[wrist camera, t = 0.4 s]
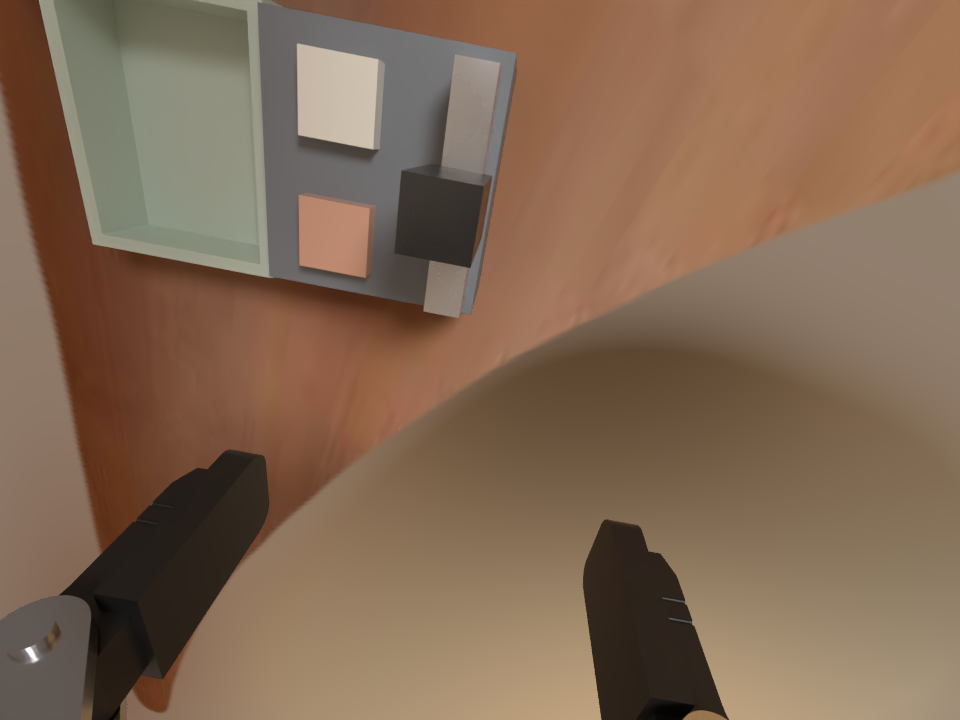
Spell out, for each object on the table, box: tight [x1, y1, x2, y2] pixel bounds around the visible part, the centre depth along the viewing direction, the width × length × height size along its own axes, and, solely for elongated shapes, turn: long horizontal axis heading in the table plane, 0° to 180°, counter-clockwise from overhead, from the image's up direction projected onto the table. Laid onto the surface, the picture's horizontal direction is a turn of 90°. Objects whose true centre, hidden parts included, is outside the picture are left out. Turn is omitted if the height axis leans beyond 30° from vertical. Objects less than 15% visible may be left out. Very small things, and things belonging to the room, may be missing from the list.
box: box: [39, 0, 282, 279], centre depth 28 cm, size 15×12×5 cm
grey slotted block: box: [257, 2, 517, 315], centre depth 27 cm, size 14×13×6 cm
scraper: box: [394, 54, 503, 318], centre depth 21 cm, size 12×3×10 cm, turn 170°
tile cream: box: [297, 43, 385, 150], centre depth 23 cm, size 4×4×1 cm
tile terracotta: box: [299, 193, 376, 278], centre depth 26 cm, size 4×4×1 cm
